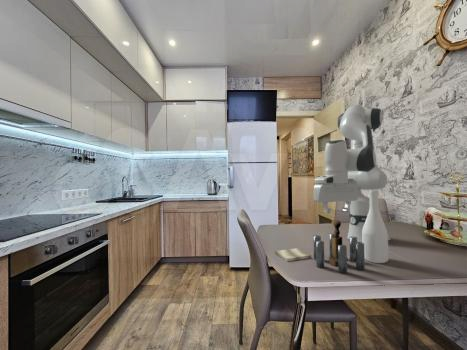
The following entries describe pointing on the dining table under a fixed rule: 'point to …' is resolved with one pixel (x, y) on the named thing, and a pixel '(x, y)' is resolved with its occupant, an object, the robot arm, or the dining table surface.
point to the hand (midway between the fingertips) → (336, 212)
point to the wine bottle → (375, 233)
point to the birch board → (292, 254)
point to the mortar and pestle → (335, 244)
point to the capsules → (340, 253)
